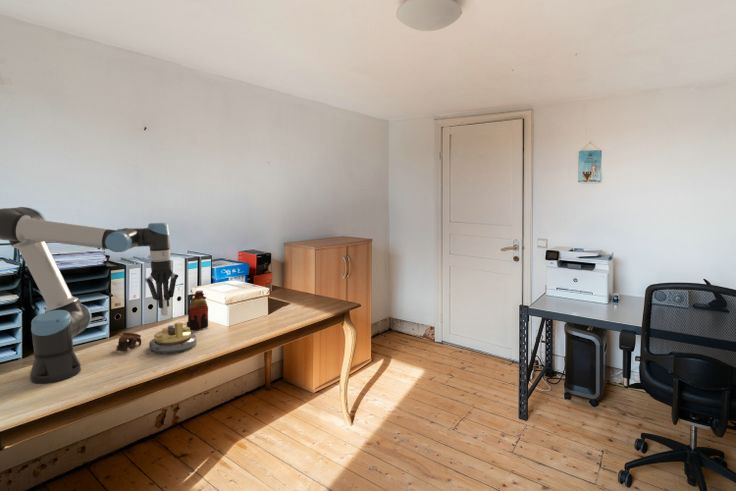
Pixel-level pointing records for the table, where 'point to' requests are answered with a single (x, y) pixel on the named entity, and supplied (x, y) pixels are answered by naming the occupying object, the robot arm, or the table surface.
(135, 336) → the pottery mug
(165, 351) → the base
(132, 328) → the table surface
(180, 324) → the gold lug disc
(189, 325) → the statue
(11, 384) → the table surface
